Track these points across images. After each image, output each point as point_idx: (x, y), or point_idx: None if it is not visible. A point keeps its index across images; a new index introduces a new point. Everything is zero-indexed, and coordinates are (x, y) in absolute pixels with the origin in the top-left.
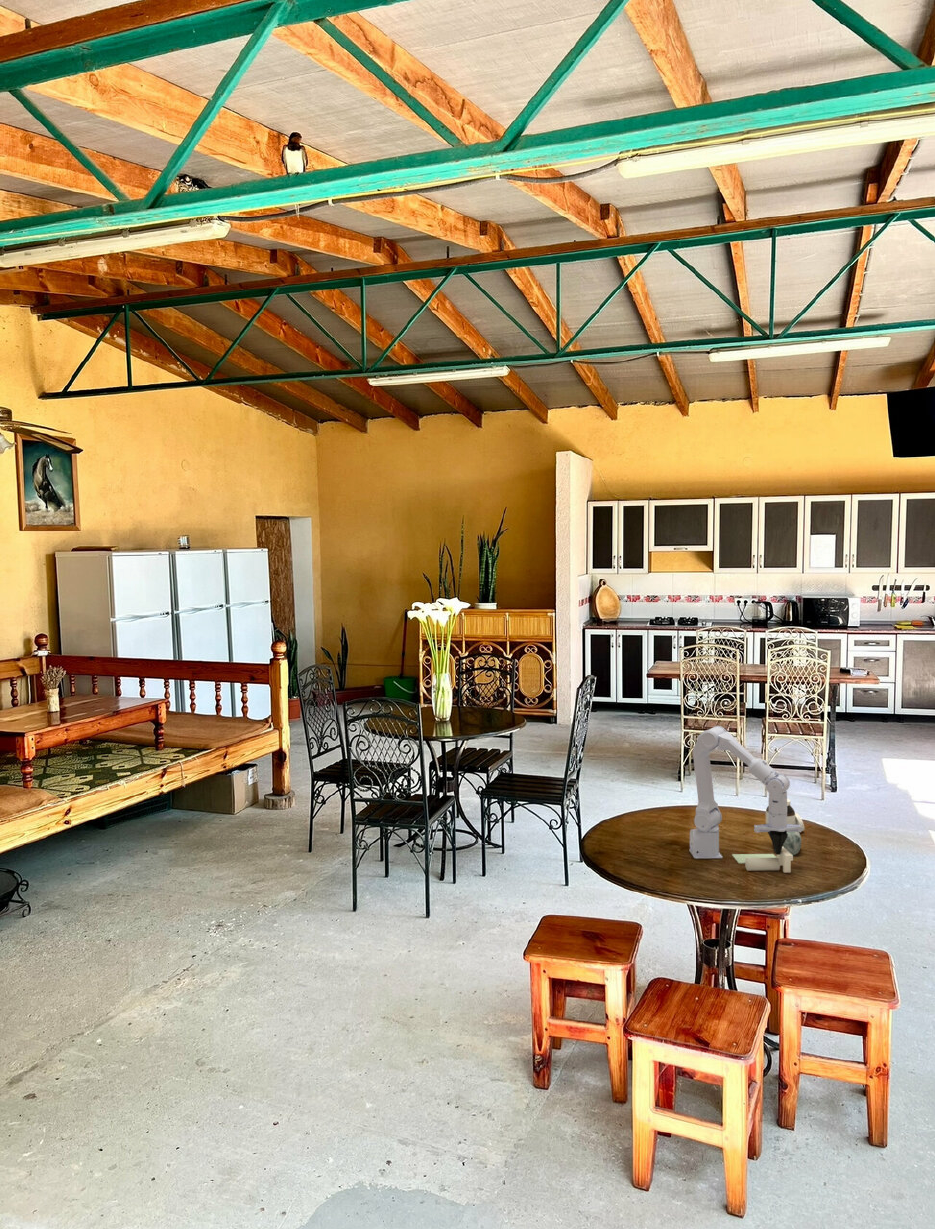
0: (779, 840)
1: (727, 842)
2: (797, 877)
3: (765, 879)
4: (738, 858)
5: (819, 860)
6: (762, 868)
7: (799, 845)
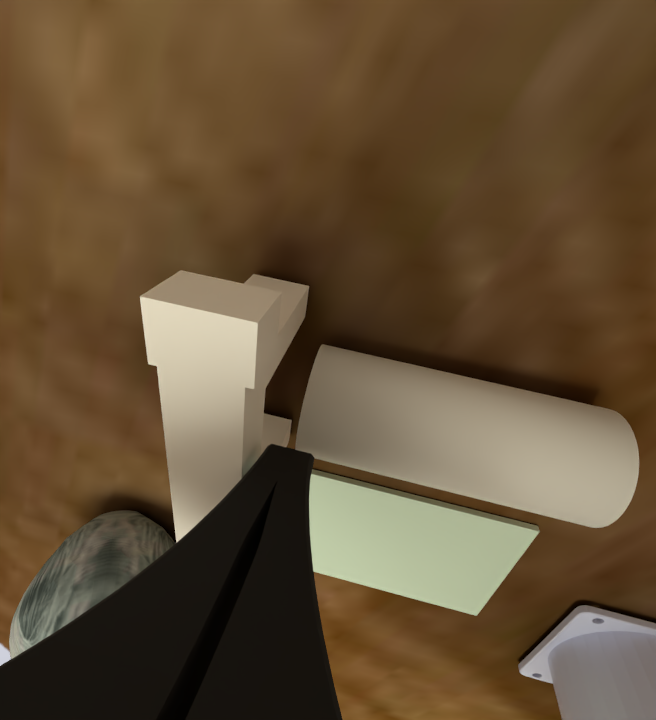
0: (208, 636)
1: (386, 685)
2: (230, 159)
3: (603, 171)
4: (484, 572)
5: (6, 421)
6: (480, 380)
7: (58, 553)
